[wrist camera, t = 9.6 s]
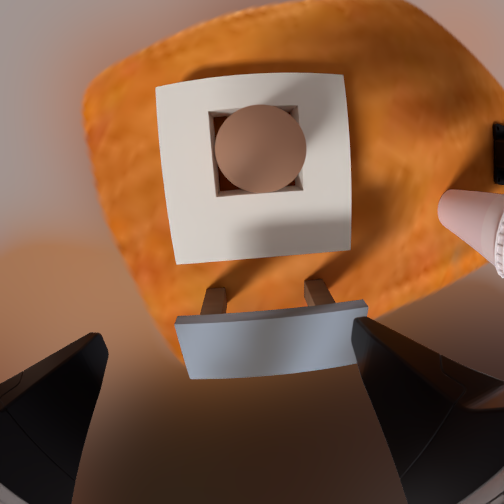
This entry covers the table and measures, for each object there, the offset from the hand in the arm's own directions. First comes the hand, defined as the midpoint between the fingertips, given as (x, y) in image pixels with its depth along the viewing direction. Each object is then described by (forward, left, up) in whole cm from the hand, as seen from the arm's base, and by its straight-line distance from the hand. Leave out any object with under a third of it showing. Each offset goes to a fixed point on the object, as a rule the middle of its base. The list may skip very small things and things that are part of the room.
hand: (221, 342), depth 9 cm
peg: (-2, -6, -13) cm, 14 cm away
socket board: (-2, -6, -13) cm, 14 cm away
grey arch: (-2, +4, -13) cm, 14 cm away
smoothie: (-20, -1, -13) cm, 24 cm away
